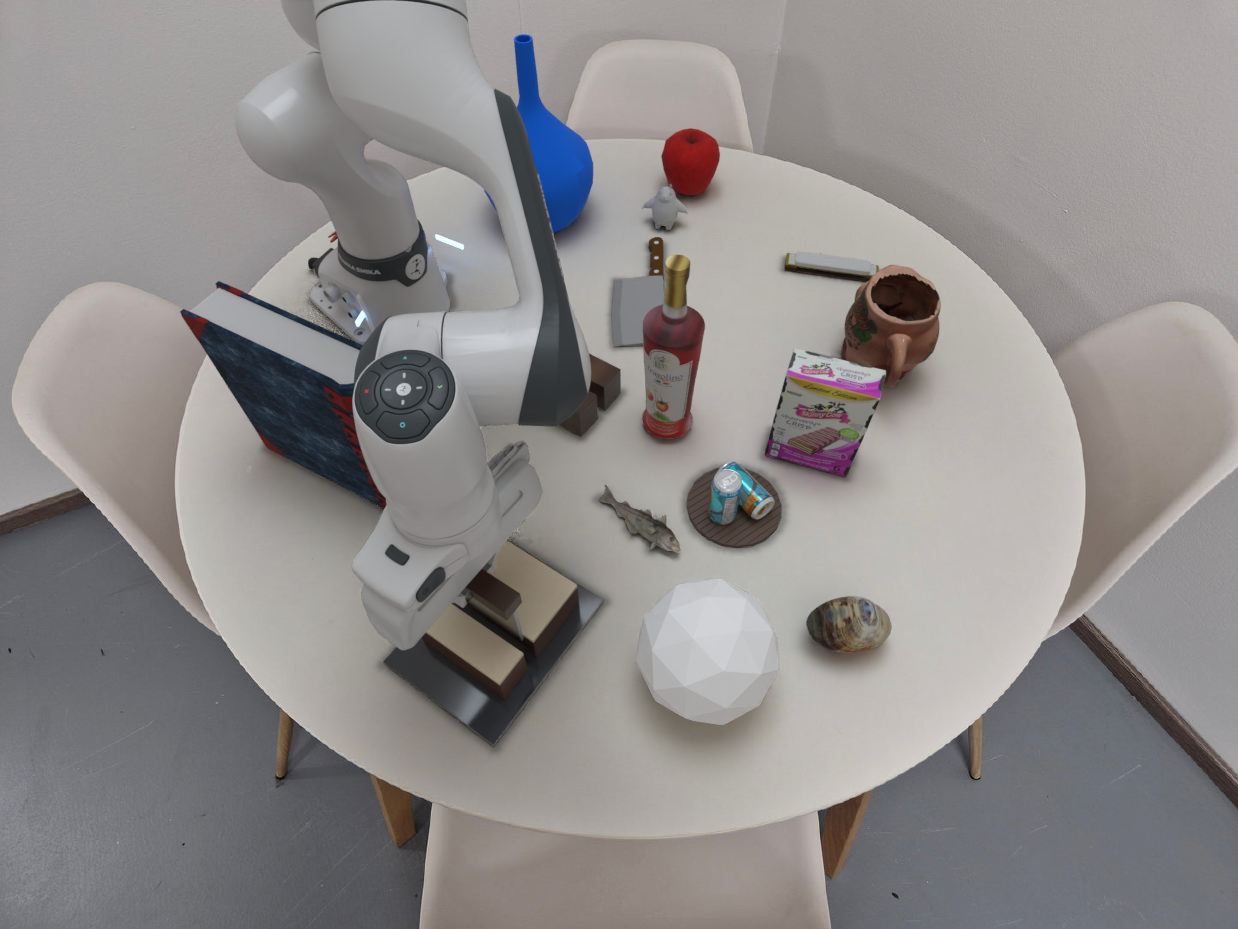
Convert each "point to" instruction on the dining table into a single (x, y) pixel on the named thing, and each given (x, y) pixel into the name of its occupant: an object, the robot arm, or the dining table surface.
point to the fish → (644, 523)
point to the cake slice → (477, 650)
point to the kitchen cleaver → (637, 299)
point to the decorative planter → (892, 322)
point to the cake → (548, 632)
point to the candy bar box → (824, 411)
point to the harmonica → (831, 266)
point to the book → (288, 382)
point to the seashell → (849, 624)
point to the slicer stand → (595, 396)
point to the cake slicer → (496, 602)
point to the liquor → (671, 355)
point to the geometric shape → (708, 651)
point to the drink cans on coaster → (734, 506)
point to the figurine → (665, 207)
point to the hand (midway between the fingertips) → (474, 584)
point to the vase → (552, 146)
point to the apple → (690, 160)
